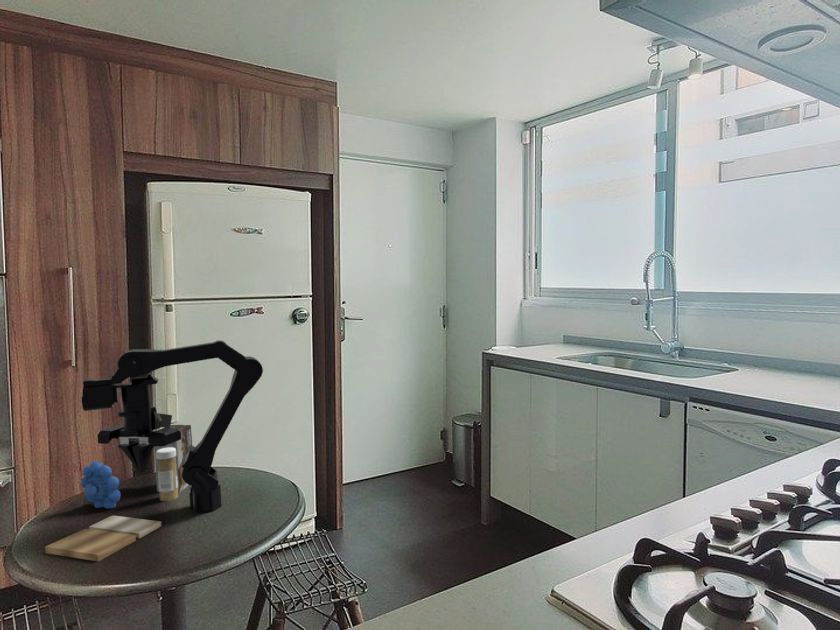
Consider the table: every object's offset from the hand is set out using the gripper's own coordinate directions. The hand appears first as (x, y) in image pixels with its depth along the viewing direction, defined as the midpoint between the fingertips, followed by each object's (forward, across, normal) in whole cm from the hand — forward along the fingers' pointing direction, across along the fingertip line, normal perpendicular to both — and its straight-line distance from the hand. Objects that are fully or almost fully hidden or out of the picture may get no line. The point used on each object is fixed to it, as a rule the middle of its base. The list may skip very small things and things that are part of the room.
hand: (142, 472), depth 124 cm
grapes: (+12, +17, -3) cm, 21 cm away
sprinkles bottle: (+12, +4, -12) cm, 17 cm away
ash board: (+12, 0, +6) cm, 13 cm away
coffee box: (+12, +10, -21) cm, 26 cm away
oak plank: (+11, +1, +14) cm, 18 cm away
